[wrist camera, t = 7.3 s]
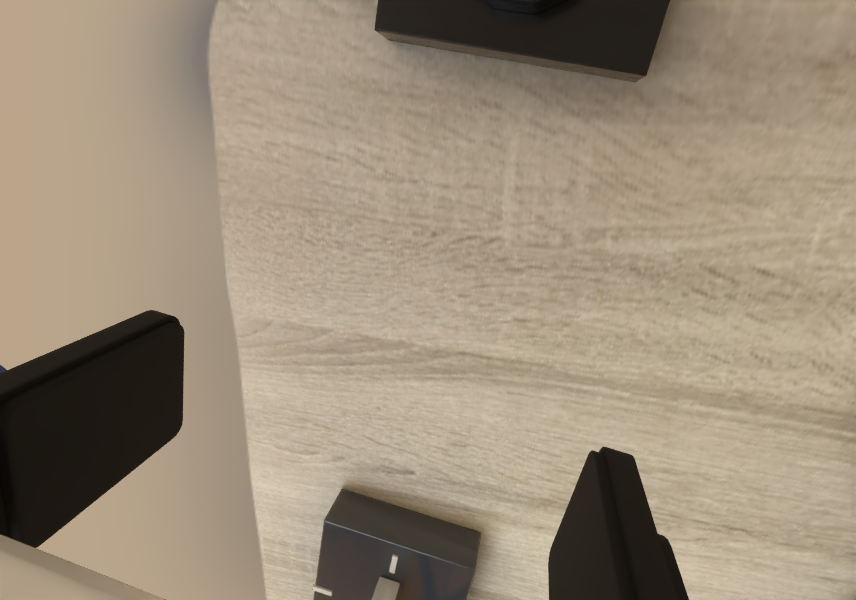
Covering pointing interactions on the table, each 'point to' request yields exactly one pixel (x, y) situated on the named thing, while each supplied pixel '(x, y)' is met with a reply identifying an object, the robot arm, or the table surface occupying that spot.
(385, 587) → the tap lever
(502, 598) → the table surface
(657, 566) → the robot arm
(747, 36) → the table surface
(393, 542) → the base
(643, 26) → the control block
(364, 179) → the table surface
